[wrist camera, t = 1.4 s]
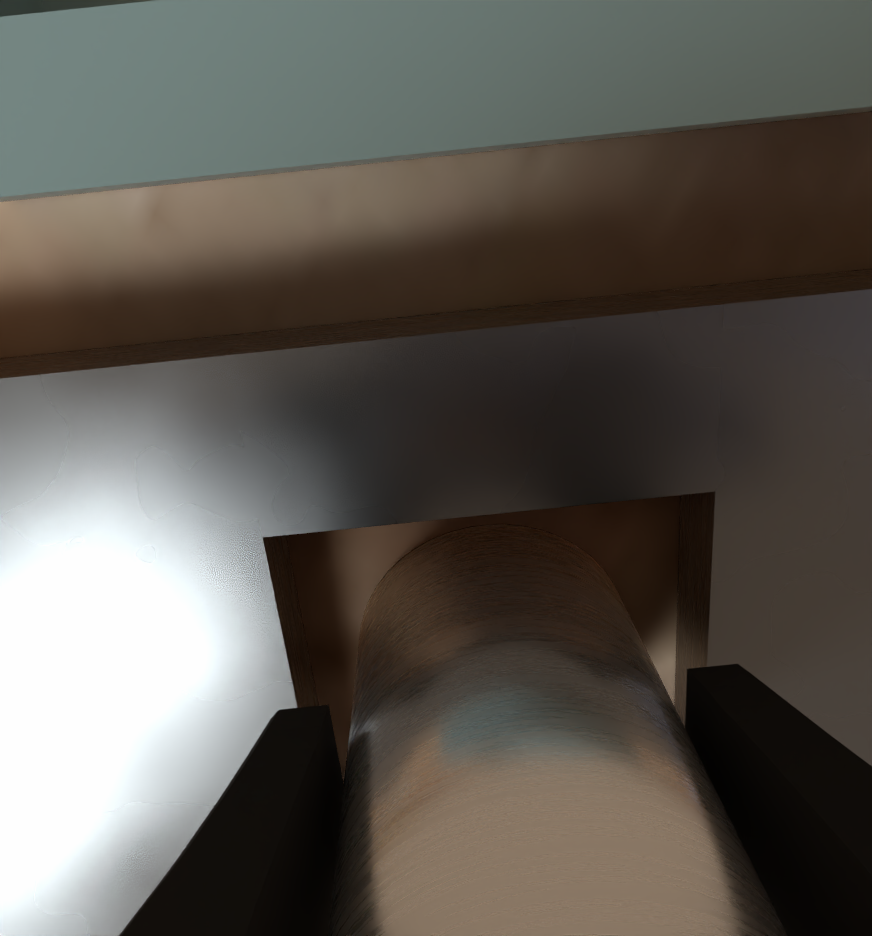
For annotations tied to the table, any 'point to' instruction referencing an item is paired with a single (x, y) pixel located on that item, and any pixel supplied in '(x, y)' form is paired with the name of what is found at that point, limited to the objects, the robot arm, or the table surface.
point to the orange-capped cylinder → (525, 761)
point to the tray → (393, 80)
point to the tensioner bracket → (384, 503)
